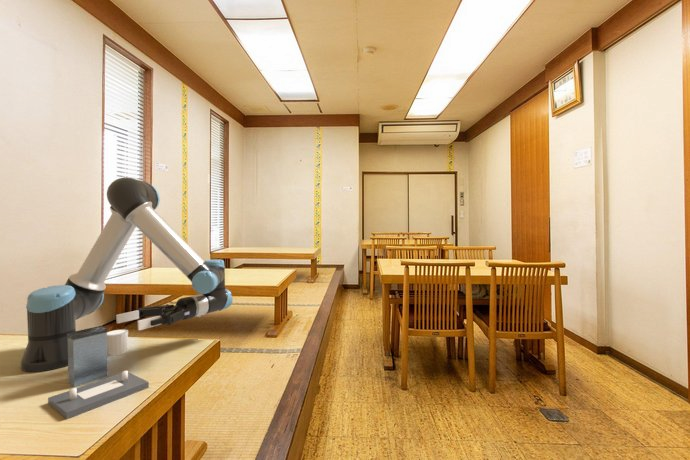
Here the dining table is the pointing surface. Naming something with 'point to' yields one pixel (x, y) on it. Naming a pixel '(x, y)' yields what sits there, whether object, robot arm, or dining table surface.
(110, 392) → the slotted base plate
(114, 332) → the white cylinder
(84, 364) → the block
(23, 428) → the dining table surface
